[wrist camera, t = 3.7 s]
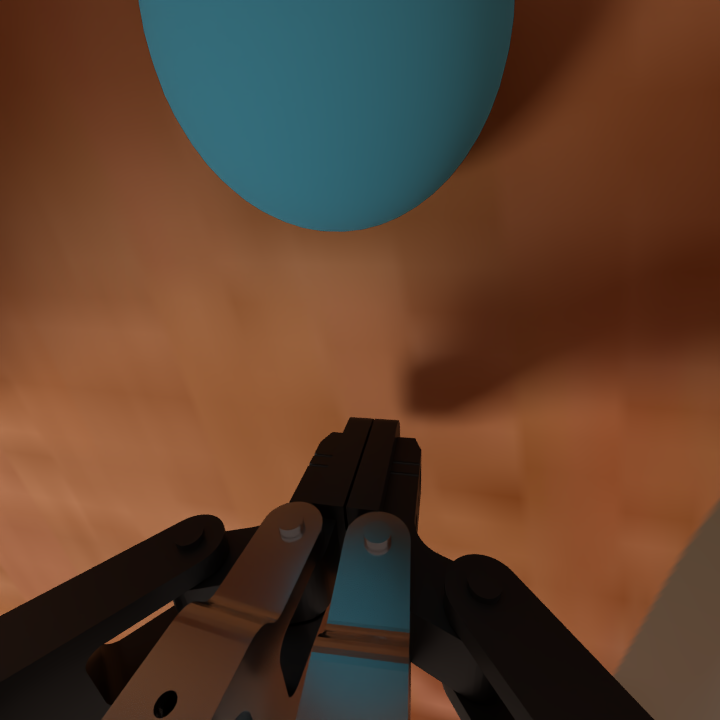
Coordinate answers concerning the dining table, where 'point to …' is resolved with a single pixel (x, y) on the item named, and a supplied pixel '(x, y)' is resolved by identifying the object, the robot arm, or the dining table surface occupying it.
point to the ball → (330, 97)
